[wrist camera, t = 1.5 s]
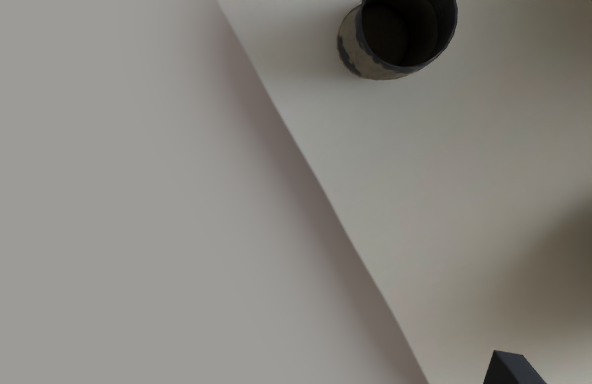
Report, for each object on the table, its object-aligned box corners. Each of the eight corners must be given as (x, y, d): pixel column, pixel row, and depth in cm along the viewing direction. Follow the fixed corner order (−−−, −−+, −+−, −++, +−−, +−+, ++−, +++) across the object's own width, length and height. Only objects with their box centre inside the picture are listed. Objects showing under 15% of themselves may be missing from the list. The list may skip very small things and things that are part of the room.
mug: (422, 62, 33) (487, 47, 22) (354, 93, 34) (383, 96, 22) (382, -42, 32) (429, -119, 20) (312, -7, 32) (318, -62, 21)
